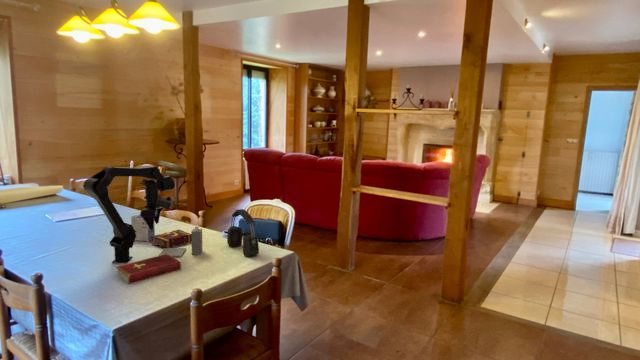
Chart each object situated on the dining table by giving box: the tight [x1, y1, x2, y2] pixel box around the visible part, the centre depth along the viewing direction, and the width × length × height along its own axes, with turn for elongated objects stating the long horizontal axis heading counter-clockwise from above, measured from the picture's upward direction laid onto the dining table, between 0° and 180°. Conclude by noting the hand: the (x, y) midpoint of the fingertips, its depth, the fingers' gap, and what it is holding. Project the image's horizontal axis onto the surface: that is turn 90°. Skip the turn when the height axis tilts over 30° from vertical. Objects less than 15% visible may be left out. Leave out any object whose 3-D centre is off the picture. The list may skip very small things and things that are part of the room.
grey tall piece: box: [190, 225, 204, 256], centre depth 179 cm, size 4×4×13 cm
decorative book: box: [151, 229, 192, 249], centre depth 192 cm, size 11×16×5 cm
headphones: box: [226, 208, 260, 258], centre depth 184 cm, size 22×6×20 cm, turn 40°
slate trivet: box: [157, 247, 187, 258], centre depth 179 cm, size 10×10×1 cm
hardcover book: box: [115, 254, 182, 285], centre depth 157 cm, size 12×21×4 cm, turn 137°
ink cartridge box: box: [130, 214, 156, 242], centre depth 196 cm, size 10×6×14 cm, turn 78°
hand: (154, 226), depth 180 cm, fingers open, 9 cm apart
